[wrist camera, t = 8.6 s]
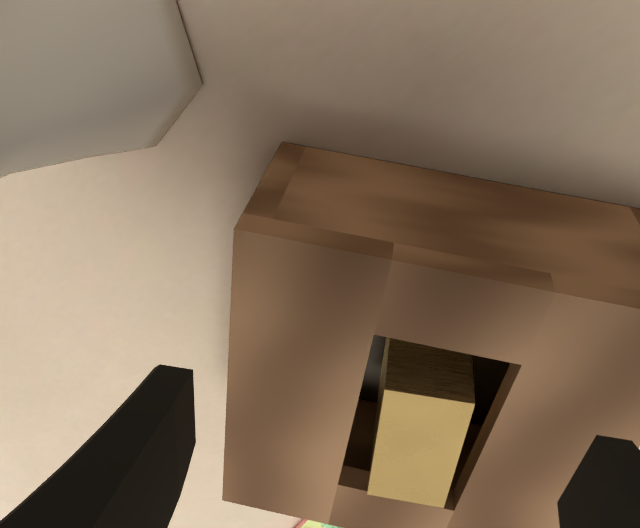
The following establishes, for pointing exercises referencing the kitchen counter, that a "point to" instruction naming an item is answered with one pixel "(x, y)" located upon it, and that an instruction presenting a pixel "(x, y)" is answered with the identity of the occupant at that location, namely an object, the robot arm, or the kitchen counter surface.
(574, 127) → the kitchen counter surface
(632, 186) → the kitchen counter surface
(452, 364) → the wooden block
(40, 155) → the flask
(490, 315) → the coin box
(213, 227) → the kitchen counter surface
